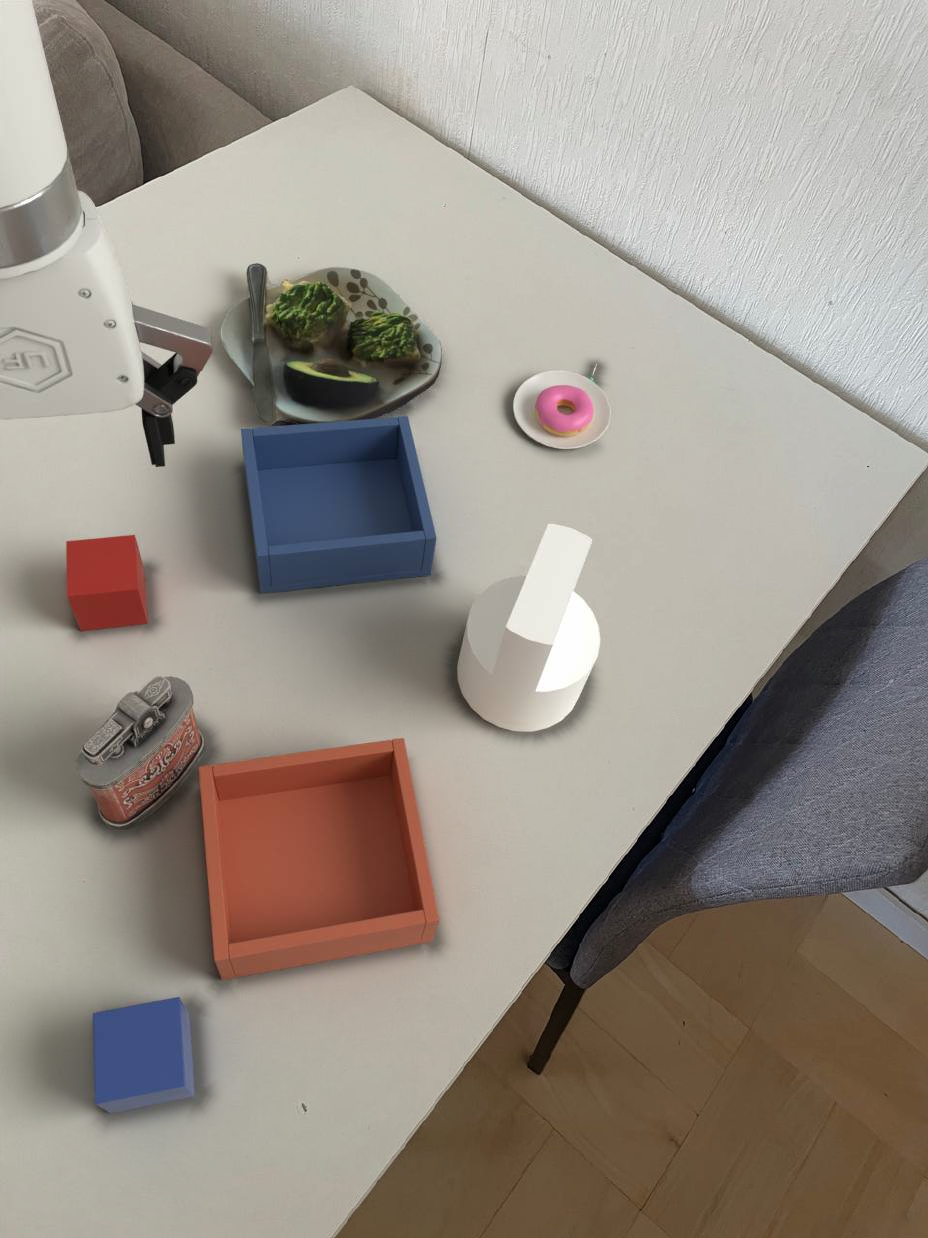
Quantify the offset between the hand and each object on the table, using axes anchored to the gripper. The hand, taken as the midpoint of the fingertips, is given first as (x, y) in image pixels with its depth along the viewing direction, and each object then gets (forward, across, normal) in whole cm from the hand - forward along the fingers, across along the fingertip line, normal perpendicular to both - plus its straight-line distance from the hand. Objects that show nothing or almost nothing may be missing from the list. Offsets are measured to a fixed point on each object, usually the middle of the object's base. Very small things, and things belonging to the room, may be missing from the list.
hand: (71, 454), depth 58 cm
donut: (+16, +37, +16) cm, 43 cm away
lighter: (+16, +2, -14) cm, 21 cm away
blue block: (+16, +1, -31) cm, 35 cm away
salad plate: (+16, +18, +22) cm, 33 cm away
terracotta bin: (+16, +11, -21) cm, 29 cm away
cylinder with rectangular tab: (+16, +27, -10) cm, 33 cm away
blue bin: (+16, +16, +6) cm, 23 cm away
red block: (+16, 0, 0) cm, 16 cm away
